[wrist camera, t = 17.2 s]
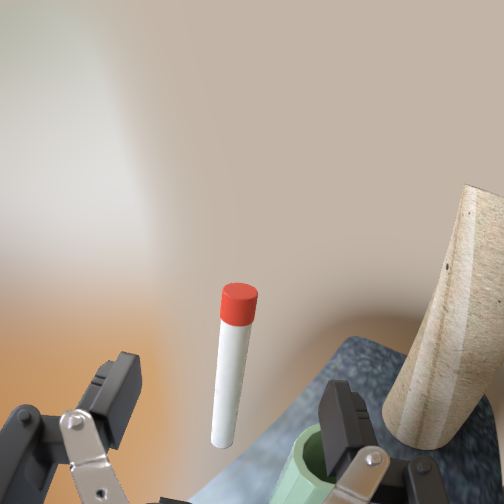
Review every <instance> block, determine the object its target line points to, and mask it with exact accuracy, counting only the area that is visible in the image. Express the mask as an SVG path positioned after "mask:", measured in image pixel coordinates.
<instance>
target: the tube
mask: <svg viewBox="0 0 504 504" xmlns="http://www.w3.org/2000/svg"><path fill="white" fill-rule="evenodd" d="M503 361H504V197H502V196H499V195H497V194H494V193H491V192H488V191H485V190H483V189H480V188H477V187H474V186H470V185H467V184H464V188H463V192H462V197H461V201H460V205H459V210H458V214H457V218H456V222H455V226H454V230H453V233H452V237H451V240H450V244H449V247H448V251H447V254H446V257H445V261H444V263H443V267H442V270H441V273H440V276H439V279H438V282H437V284H436V287H435V290H434V293H433V296H432V298H431V301H430V304H429V307H428V309H427V311H426V314H425V317H424V319H423V322H422V324H421V326H420V329H419V331H418V334H417V336H416V338H415V341H414V343H413V345H412V347H411V350H410V352H409V354H408V356H407V358H406V360H405V363H404V365H403V367H402V369H401V371H400V373H399V375H398V377H397V379H396V381H395V383H394V385H393V387H392V389H391V391H390V393H389V394H388V396H387V398H386V400H385V402H384V404H383V409H382V415H383V420H384V422H385V425H386V427H387V429H388V430H389V431H390V432H391V433H392V435H393V436H394V437H395V438H397V439H398V440H399V441H401V442H402V443H404V444H406V445H408V446H410V447H412V448H417V449H421V450H434V449H437V448H440V447H443V446H444V445H446V444H447V443H448V442H449V441H450V440H451V439H452V438H453V436H454V435H455V434H456V433H457V431H458V430H459V429H460V427H461V426H462V425H463V423H464V422H465V421H466V419H467V418H468V416H469V415H470V414H471V412H472V411H473V409H474V408H475V406H476V405H477V404H478V402H479V401H480V399H481V398H482V396H483V395H484V393H485V391H486V390H487V388H488V387H489V385H490V383H491V382H492V380H493V379H494V377H495V375H496V374H497V372H498V370H499V368H500V366H501V365H502V363H503Z"/></svg>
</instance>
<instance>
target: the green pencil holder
mask: <svg viewBox="0 0 504 504" xmlns="http://www.w3.org/2000/svg"><path fill="white" fill-rule="evenodd" d="M378 447H379V446H378ZM336 483H337V478H336V477H328V476H327V469H326V462H325V455H324V448H323V442H322V435H321V429H320V423H318V424H316V425H313V426H311V427H308V428H306V429H305V430H304V431H303V432H302V433H301V434H300V436H299V437H298V438H297V439H296V440H295V442H294V444H293V447H292V449H291V452H290V454H289V456H288V459H287V461H286V463H285V466H284V468H283V470H282V472H281V475H280V477H279V479H278V481H277V483H276V486H275V488H274V490H273V492H272V494H271V496H270V499H269V502H268V504H321V503H322V502H323V500H324V499H325V498H326V497H327V495H328V494H329V493H330V491H331V490H332V489H333V487H334V486H335V485H336Z"/></svg>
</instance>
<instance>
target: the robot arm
mask: <svg viewBox="0 0 504 504" xmlns="http://www.w3.org/2000/svg"><path fill="white" fill-rule="evenodd" d="M141 388H142V375H141V367H140V358H139V355H136V354H131V353H126V352H121V353H120V354H119V356H118V358H117V360H116V361H115V362H113V361H110V360H109V361H107V362H106V363H105V364H103V365H102V366H101V367H100V368H99V369H98V371H97V373H96V375H95V377H94V378H93V380H92V381H91V384H90V385H89V386H88V388H87V390H86V391H85V393H84V395H83V397H82V398H81V400H80V402H79V404H78V406H77V407H76V408H75V409H71V410H68V411H66V412H65V413H64V414H63V415H62V416H48V415H41V414H40V412H39V410H38V409H37V408H35V407H34V406H32V405H27V404H26V405H25V404H24V405H20V406H18V407H16V408H15V409H14V410H13V411H12V413H11V414H10V416H9V418H8V419H7V421H6V423H5V424H4V426H3V428H2V429H1V431H0V504H43V503H44V500H45V498H46V495H47V492H48V489H49V487H50V484H51V482H52V479H53V476H54V474H55V471H56V469H57V466H58V464H71V467H70V471H71V474H72V477H73V480H74V483H75V486H76V489H77V491H78V494H79V497H80V499H81V502H82V504H129V501H128V500H127V498H126V496H125V494H124V492H123V490H122V487H121V485H120V484H119V481H118V479H117V477H116V475H115V473H114V470H113V468H112V466H111V463H110V461H109V459H108V457H107V452H108V450H109V448H112V449H115V450H118V448H119V445H120V442H121V440H122V437H123V435H124V432H125V430H126V427H127V425H128V422H129V419H130V417H131V415H132V412H133V409H134V407H135V405H136V402H137V400H138V398H139V395H140V392H141ZM318 415H319V422H320V429H321V435H322V442H323V448H324V455H325V462H326V469H327V476H328V477H336V478H337V483H336V485H335V486H334V487H333V489H332V490H331V491H330V493H329V494H328V495H327V497H326V498H325V499H324V500H323V502H322V503H321V504H370V503H369V502H373V503H379V504H450V503H449V499H448V496H447V492H446V489H445V486H444V482H443V479H442V476H441V473H440V470H439V467H438V464H437V462H436V461H435V460H434V459H433V458H431V457H430V456H427V455H417V456H415V457H413V458H412V459H411V460H410V461H404V460H398V459H393V458H390V457H389V455H388V453H387V452H386V451H385V450H383V449H382V448H380V447H378V444H377V440H376V437H375V434H374V430H373V427H372V424H371V421H370V419H369V418H370V417H369V414H368V412H367V408H366V404H365V401H364V400H363V399H362V397H361V396H360V395H359V394H358V393H357V392H351V390H350V387H349V384H348V381H345V380H329V382H328V384H327V387H326V389H325V392H324V394H323V397H322V399H321V402H320V405H319V412H318ZM147 504H192V503H189V502H184V501H179V500H173V499H168V498H163V497H160V501H159V503H147Z"/></svg>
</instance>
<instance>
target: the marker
mask: <svg viewBox="0 0 504 504" xmlns="http://www.w3.org/2000/svg"><path fill="white" fill-rule="evenodd" d="M257 297H258V292H257V290H256V289H255V288H254V287H252V286H250V285H248V284H244V283H230V284H227V285H225V286H224V287H223V290H222V300H221V312H220V317H221V327H220V338H219V349H218V360H217V372H216V383H215V395H214V408H213V420H212V434H211V442H212V444H213V445H214V446H215V447H217V448H221V449H225V448H228V447H230V446H231V445H232V443H233V438H234V432H235V425H236V420H237V414H238V407H239V401H240V395H241V389H242V383H243V376H244V370H245V363H246V357H247V351H248V345H249V338H250V332H251V326H252V322H253V320H254V316H255V310H256V304H257Z"/></svg>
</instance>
